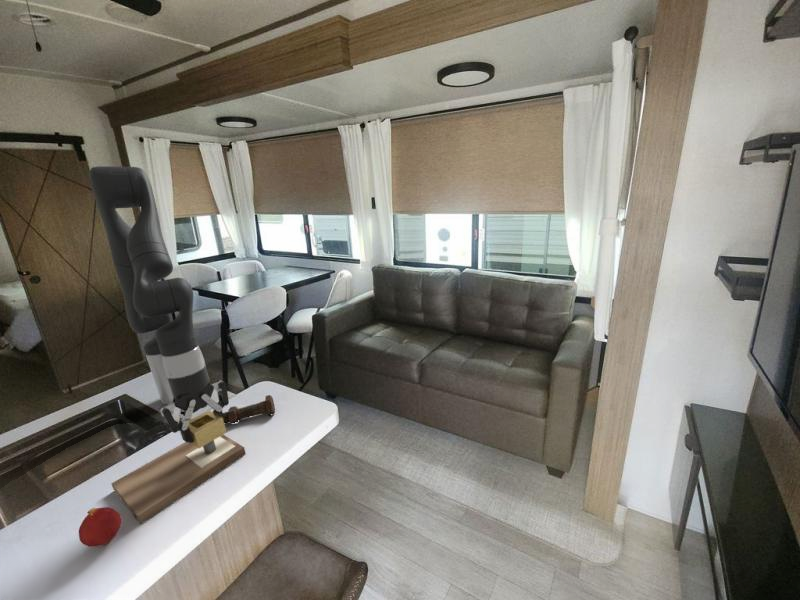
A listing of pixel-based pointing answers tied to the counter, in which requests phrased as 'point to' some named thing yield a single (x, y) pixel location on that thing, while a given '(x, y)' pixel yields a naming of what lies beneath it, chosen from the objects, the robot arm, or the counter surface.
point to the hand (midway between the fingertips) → (205, 432)
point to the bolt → (250, 410)
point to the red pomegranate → (99, 526)
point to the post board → (174, 475)
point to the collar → (206, 428)
